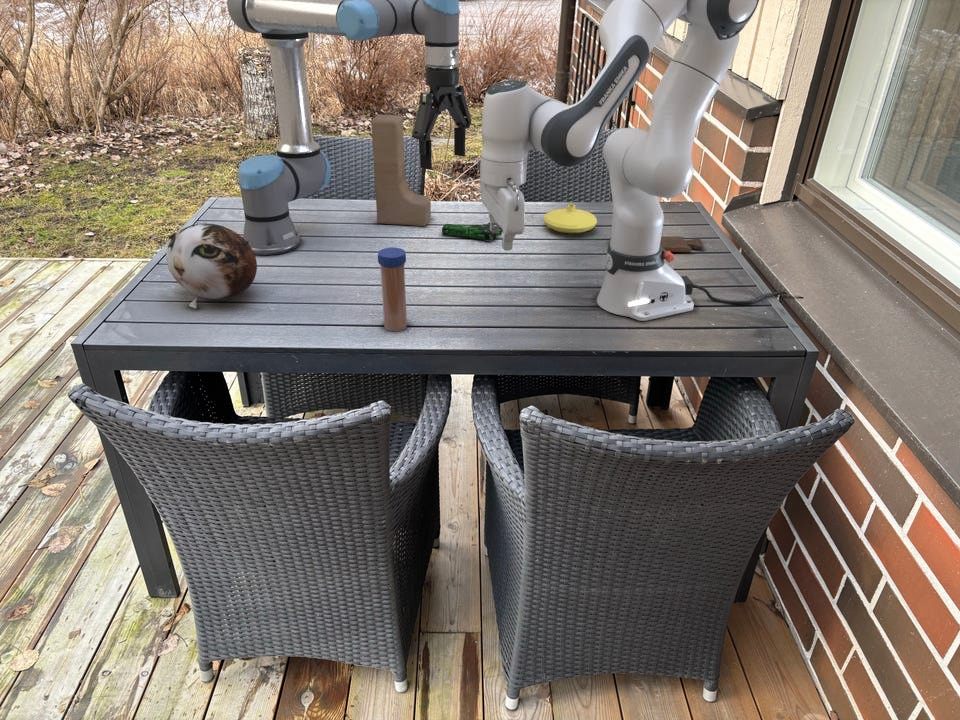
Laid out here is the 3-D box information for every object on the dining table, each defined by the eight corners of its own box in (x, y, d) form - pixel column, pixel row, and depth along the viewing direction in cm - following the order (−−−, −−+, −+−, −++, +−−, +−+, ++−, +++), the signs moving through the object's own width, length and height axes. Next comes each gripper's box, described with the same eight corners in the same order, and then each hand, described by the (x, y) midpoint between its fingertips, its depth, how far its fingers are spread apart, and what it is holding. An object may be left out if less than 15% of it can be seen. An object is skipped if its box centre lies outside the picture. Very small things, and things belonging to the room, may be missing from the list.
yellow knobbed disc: (559, 216, 220) (561, 193, 217) (605, 227, 212) (608, 204, 209) (532, 230, 209) (533, 207, 206) (580, 242, 201) (582, 218, 198)
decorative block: (426, 226, 211) (423, 122, 195) (376, 223, 212) (370, 119, 197) (431, 218, 217) (429, 116, 202) (383, 215, 219) (377, 114, 203)
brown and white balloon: (130, 285, 161) (164, 203, 163) (192, 308, 177) (221, 233, 178) (195, 307, 151) (229, 220, 152) (254, 330, 166) (285, 250, 168)
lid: (375, 258, 151) (375, 248, 150) (402, 255, 153) (401, 246, 152) (381, 268, 147) (380, 259, 146) (408, 265, 148) (408, 256, 147)
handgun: (511, 219, 210) (493, 234, 198) (511, 228, 211) (492, 244, 199) (461, 212, 215) (440, 226, 203) (461, 221, 217) (440, 236, 204)
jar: (381, 322, 159) (377, 251, 150) (404, 319, 160) (400, 248, 152) (386, 332, 155) (382, 260, 146) (409, 329, 156) (406, 257, 148)
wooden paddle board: (706, 254, 196) (698, 241, 204) (708, 249, 195) (699, 236, 203) (612, 251, 196) (608, 238, 205) (613, 245, 195) (608, 232, 204)
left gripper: (421, 75, 148) (424, 176, 159) (486, 61, 166) (485, 153, 177) (393, 71, 151) (397, 171, 162) (460, 58, 169) (460, 148, 180)
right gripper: (535, 187, 128) (530, 258, 135) (505, 157, 145) (502, 222, 153) (501, 188, 127) (498, 261, 134) (475, 158, 144) (474, 224, 151)
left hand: (443, 161), depth 169 cm, fingers open, 13 cm apart
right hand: (500, 240), depth 143 cm, fingers open, 8 cm apart
